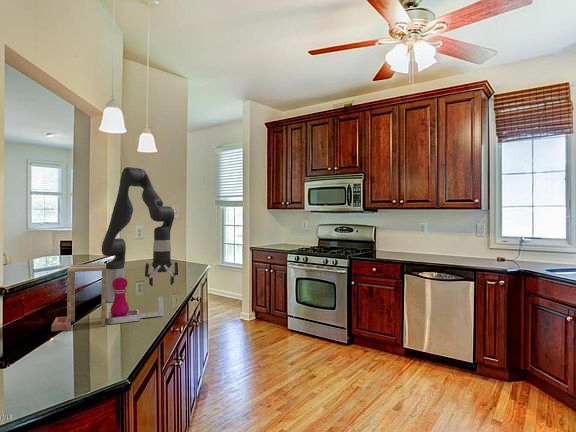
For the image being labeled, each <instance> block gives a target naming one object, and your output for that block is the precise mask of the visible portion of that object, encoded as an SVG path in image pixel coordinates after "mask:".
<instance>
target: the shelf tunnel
mask: <svg viewBox="0 0 576 432" xmlns="http://www.w3.org/2000/svg"><path fill="white" fill-rule="evenodd" d="M106 263H107V262H106ZM106 263H105V262H103V263H102V262H101V263H85V264H84V263H83V264H81V263H80V264H71V265H70V266H69V267H68V268H67V280H66V281H67V284H66V287H67V288H66V289H67V290H66V291H67V292H66V294H67V295H66V297H67V299H66V300H67V301H66V306H67V307H66V317H67V329H66V331H67V332H68V331H71V330H72V327H71V326H72V322H75V321H76V318H75V315H76V314H75V313H76V312H75V311H76V310H75V309H76V308H75V307H76V301H75V300H76V298H75V297H76V277H75V276H76V273H81V272H84V273H85V272H99V271H100V272H101V307H100V308H101V309H100V310H101V311H100V312H101V317H100V319H101V320H100V321H101V322H100V323H101V324H100V325H101V328H104V327H105V325H106V324H105V323H106V318H107V315H106V314H107V307H106V306H107V305H106V304H107V302H106Z"/></svg>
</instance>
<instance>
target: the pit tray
mask: <svg viewBox="0 0 576 432" xmlns="http://www.w3.org/2000/svg"><path fill="white" fill-rule="evenodd" d="M50 326H51V327H50V328H51V332H59V331H67V316H59V317H58V316H57V317H55V319H54V320H53V322H52V324H51V325H50Z"/></svg>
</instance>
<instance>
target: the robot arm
mask: <svg viewBox="0 0 576 432" xmlns="http://www.w3.org/2000/svg"><path fill="white" fill-rule="evenodd" d="M119 179H120V180H119V185H118V186H119V187H118V192H117V196H116V200H115V203H114V206H113V209H112V213H111V218H110V221H109V225H108V228H107V231H106V233H105V236H104V237H103V241H102V244H101V253H102V255H103V256H105V257H114V258H113V259H112V260H110V261H108V262H106V303H113V302H114V298H115V293H114V288H113V286H112V283H113V281H114V280H115V279H117V278H118V275H119V274H121V275H122V278H125V263H126V251H127V250H126V249H127V247H126V246H127V245H126V241H125V240H124V238H116V237H117V236H118V234H120V233H121V231H122V230H124V228H126V227H127V226H128V225H129V223H130V222H131V219H132V216H133V213H134V207H133V203H132V202H131V199H130V196H129V191H130V190H129V189H130V187H141V188H142V194H141V198H142V201H143V203H144V204H145V205H146V207H147V208H148V213H149V217H150V218H151V220H152V221H153V222H160V223H161V222H162V223H161V224H162V225H160V226H156V227H155V228H154V230H153V245H152V247H153V248H152V249H153V250H152V251H153V252H152V263H150V262H149V263H148V262H146V263H145V266H144V267H145V268H144V277H146V278H148V284H149V286H150V287H153V285H154V283H153V282H154V279H153V277H154V276H155V274H156V273H166V272H168V273H169V275H170V276H169V277H170V281H169V284H170V285H171V286H172V285H173V284H174V283H175V276H178V275H179V265H178V261H173V262H172V260H171V255H172V254H171V251H172V248H171V247H172V245H171V232H172V231H171V230H172V227H173V224H174V219H175V210H174V208H173V207H171V206H168V205H167V206H166V205H165V206H164V202H163V200H162V198H161V197H160V196H159V194H158V193H157V192H156V190H155V189H154V186H153V184H152V182H151V180H150V177H149V175H148V173H147V172H146V171H145V169H143V168H138V167H128V166H127V167H124V168H123V170H122V172H121V175H120V178H119ZM171 266H172V267H173V268H174V272H172V271H171V269H170V268H171ZM151 267H152V268H153V269H152V271H151V272H150V273H149V269H151Z"/></svg>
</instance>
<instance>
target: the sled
mask: <svg viewBox="0 0 576 432" xmlns="http://www.w3.org/2000/svg"><path fill="white" fill-rule="evenodd" d="M164 302H165V299H164V296H161V295H160V296H158V311H154V312H153V311H151V312H145V313H140V310H139V308H135V309H129V311H128V313H127V314H126V315H128V316H120V317H112V316H113V315H112V314H111V311H109V312H108V314H109V315H108V324H109V325H113V324H121V323H123V324H124V323H129V322H138V321H141V319H143V318H144V319H146V318H153V317H154V318H155V317H165V311H164V309H165V303H164Z"/></svg>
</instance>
